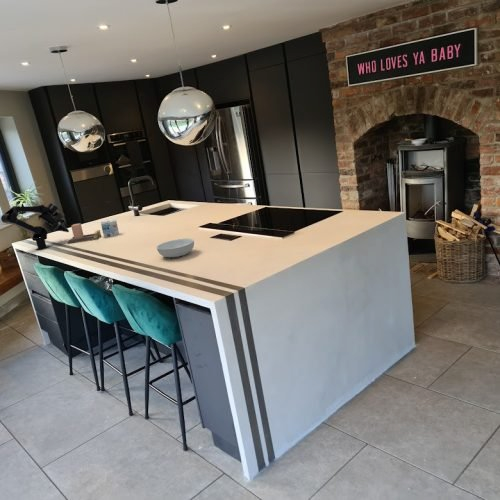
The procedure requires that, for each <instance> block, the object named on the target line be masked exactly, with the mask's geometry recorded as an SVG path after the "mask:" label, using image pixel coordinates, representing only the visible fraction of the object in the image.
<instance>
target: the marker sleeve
mask: <svg viewBox="0 0 500 500" xmlns="http://www.w3.org/2000/svg"><path fill="white" fill-rule="evenodd" d="M70 228H71V230H72V235H73V237H74V239H78V238H83V237H84V235H85V234H84V232H83V231H84V230H83V228H82V223H81V222H80V223H74V224H72V225H71V226H70Z"/></svg>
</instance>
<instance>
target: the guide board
mask: <svg viewBox="0 0 500 500" xmlns="http://www.w3.org/2000/svg"><path fill="white" fill-rule="evenodd" d="M83 235H84V237H83V238H78V239H74V236H72V238H70V239H69V240H67V242H66V243H67V244H68V245H69V244H70V245H71V244H76V243H83V242H89V241H95V240H96V241H97V240H99V239H100V238H101V237H102V233H101V230H100V229H97V230H96V231H94V233H90V234H83Z"/></svg>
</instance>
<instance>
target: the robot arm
mask: <svg viewBox="0 0 500 500" xmlns="http://www.w3.org/2000/svg"><path fill="white" fill-rule="evenodd" d="M58 210H59V208H58V206H57V205H55V204H53V203H52V202H50V203H49V204H48V205H47V206H45V205H44V204H39V205H38V204H35V205H31V206H21V205H20V206H19V205H14V206H13V205H12V207H11V208H10V209H9V210H7V211H6V212H4V214H2V215H1V217H0V219H1V220H0V221H1V222H2V224H3V223H4V224H8V225H13V226H16V227H18V228H21V229H22V230H25V231H27V232H29V233H31V234H32V238H31V239H32V241H33V242H35V243H36V247H37V248H36V249H35V250H36V251H40V250H45V249H47V248H49V246H48V245H47V243H46V240H47V239H48V230H47V229H46V228H45V227H43V226H41V225H40V226H39V225H37V226H36V225H35V226H34V225H31V224H30V223H27V222H25V221H23V220H21V219H18V217H19V213H33V214H39V215H38V216H37V219H38V221H41V219H42V220H43V221H44V222H46V223H47V225H51V227H50V231H51V232H52V233H54V232H55V231H58V232H65V233H69V232H70V230H69V229H68V228H67V227H66V225H65V223H66V219H65V213H64V212H61V211H60V212H58V214H57V215H56V216H55V215H54V214H56V212H57V211H58Z"/></svg>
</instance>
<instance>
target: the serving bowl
mask: <svg viewBox="0 0 500 500" xmlns="http://www.w3.org/2000/svg"><path fill="white" fill-rule="evenodd" d="M194 246H195V240H194V239H192V238H177V239H172V240H168V241H164V242H162V243H160V244H158V245H157V246H156V251H157V252H158V254H159V255H161V257H165V258H171V257H172V259H175V258H174V257H176V258H180V256H181V257H183V256H185V255H187V254H189V253H190V252H191V251H193V248H194Z"/></svg>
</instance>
